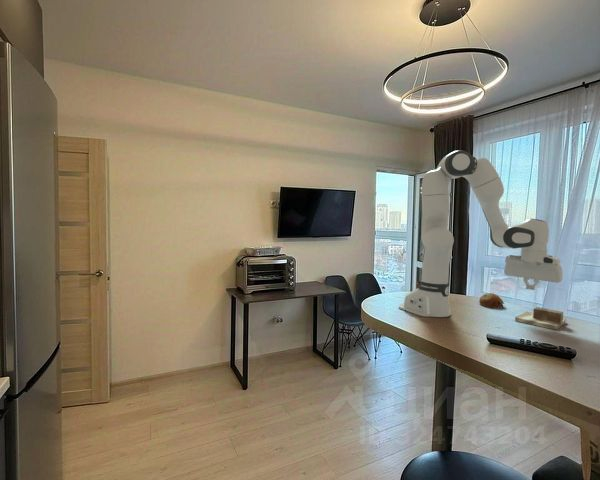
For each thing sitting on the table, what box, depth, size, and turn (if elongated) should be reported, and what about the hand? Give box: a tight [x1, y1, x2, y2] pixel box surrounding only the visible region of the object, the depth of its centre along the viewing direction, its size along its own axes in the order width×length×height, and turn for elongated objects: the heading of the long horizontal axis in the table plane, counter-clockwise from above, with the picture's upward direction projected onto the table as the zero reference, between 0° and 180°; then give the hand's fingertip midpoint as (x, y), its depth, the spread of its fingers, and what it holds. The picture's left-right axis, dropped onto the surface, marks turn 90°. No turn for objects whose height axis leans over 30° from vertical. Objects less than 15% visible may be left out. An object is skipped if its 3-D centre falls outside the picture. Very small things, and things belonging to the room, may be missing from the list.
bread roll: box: [478, 292, 505, 309], centre depth 160 cm, size 10×10×8 cm
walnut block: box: [532, 306, 564, 323], centre depth 133 cm, size 4×4×9 cm
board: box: [514, 311, 567, 331], centre depth 135 cm, size 14×14×2 cm
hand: (530, 289), depth 138 cm, fingers closed
